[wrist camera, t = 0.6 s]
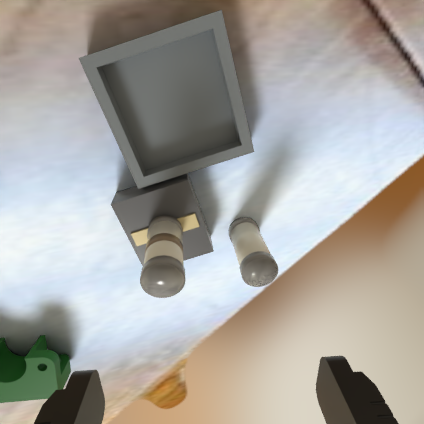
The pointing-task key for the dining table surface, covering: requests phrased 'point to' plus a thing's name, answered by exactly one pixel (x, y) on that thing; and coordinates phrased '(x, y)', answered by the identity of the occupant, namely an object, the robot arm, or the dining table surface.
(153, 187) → the block
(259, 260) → the fuse
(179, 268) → the ball
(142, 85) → the parts tray
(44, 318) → the dining table surface
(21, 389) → the clamp
